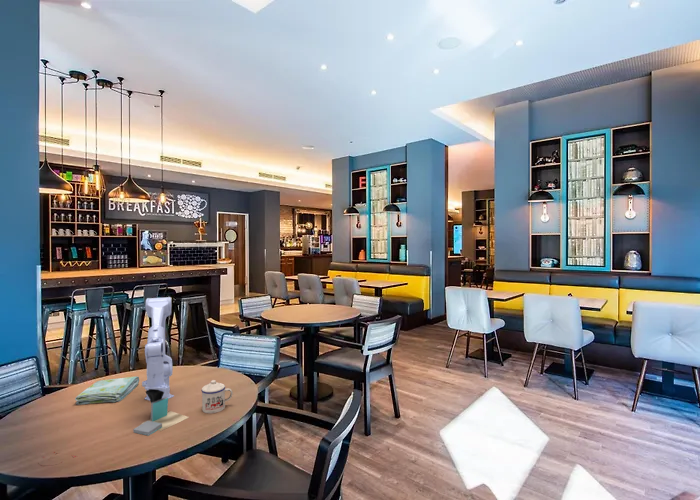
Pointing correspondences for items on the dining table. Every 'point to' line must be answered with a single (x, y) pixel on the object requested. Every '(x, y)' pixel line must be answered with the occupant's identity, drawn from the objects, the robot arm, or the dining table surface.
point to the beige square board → (170, 420)
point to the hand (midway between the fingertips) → (156, 407)
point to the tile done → (147, 428)
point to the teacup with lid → (214, 397)
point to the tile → (159, 409)
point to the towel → (107, 390)
